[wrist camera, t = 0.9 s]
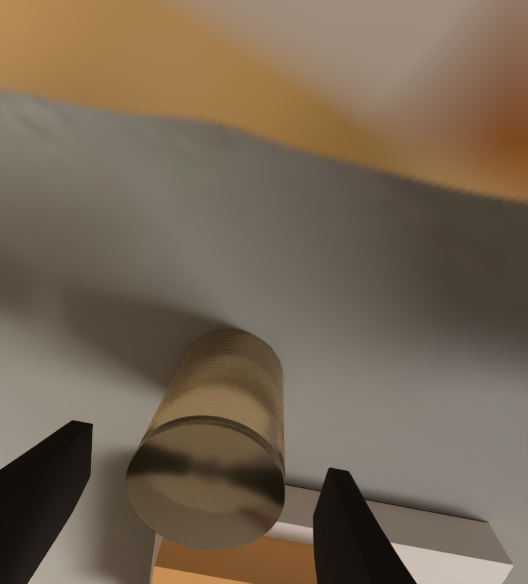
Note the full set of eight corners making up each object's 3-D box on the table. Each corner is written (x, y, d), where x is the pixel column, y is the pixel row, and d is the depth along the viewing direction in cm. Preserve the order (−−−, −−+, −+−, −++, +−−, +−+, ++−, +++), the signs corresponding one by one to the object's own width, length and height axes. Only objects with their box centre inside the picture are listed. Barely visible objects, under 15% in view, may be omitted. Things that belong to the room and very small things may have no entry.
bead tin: (293, 341, 15) (301, 445, 9) (271, 426, 16) (267, 561, 11) (187, 320, 15) (131, 413, 9) (175, 408, 16) (120, 535, 11)
